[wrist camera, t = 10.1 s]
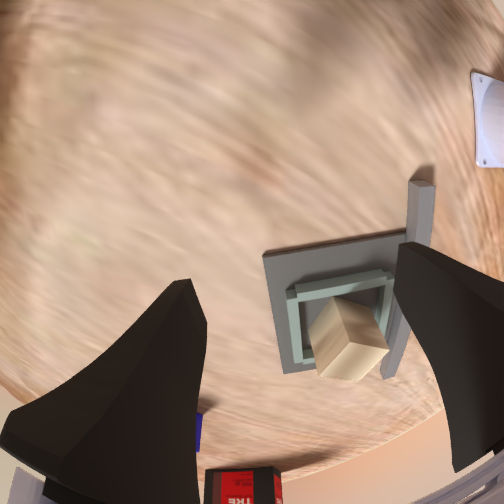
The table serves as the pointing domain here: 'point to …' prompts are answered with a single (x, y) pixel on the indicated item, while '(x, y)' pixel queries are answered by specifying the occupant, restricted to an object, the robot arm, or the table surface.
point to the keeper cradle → (328, 289)
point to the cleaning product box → (243, 486)
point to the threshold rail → (417, 231)
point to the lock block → (346, 340)
